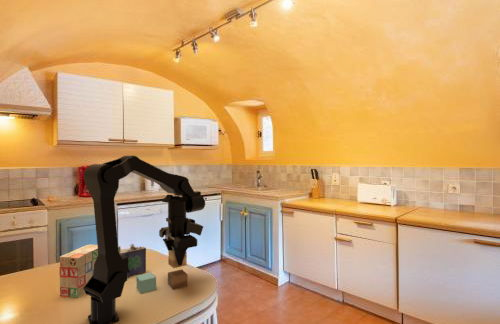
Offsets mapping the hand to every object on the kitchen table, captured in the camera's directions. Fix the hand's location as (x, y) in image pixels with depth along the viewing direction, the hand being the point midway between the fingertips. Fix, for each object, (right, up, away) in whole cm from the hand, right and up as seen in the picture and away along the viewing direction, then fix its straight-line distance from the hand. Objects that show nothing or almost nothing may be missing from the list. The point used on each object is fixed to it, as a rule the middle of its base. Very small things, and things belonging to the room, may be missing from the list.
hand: (177, 263), depth 96 cm
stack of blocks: (-28, -8, +2) cm, 29 cm away
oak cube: (0, -1, 0) cm, 1 cm away
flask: (-18, -7, +9) cm, 21 cm away
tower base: (-9, -7, -2) cm, 12 cm away
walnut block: (0, -7, 0) cm, 7 cm away
